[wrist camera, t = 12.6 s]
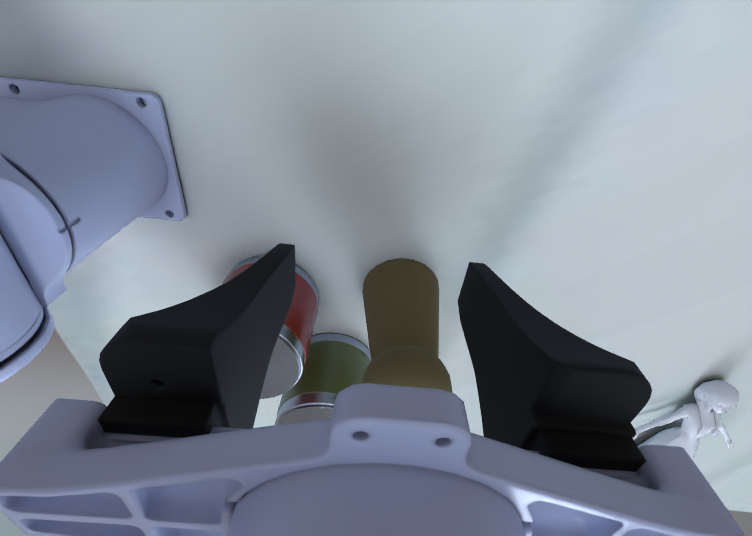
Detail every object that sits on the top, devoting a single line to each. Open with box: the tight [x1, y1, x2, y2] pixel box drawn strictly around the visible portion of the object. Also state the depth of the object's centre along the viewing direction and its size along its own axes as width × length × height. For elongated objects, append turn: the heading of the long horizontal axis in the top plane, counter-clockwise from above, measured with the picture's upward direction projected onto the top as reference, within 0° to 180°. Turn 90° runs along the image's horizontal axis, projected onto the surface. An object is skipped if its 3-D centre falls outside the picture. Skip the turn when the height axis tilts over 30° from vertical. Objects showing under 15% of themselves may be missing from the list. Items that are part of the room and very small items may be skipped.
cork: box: [362, 259, 452, 393], centre depth 24 cm, size 6×6×11 cm
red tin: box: [222, 257, 319, 399], centre depth 26 cm, size 8×8×7 cm
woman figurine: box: [633, 380, 739, 460], centre depth 37 cm, size 12×4×18 cm
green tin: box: [275, 333, 371, 425], centre depth 30 cm, size 8×8×7 cm
